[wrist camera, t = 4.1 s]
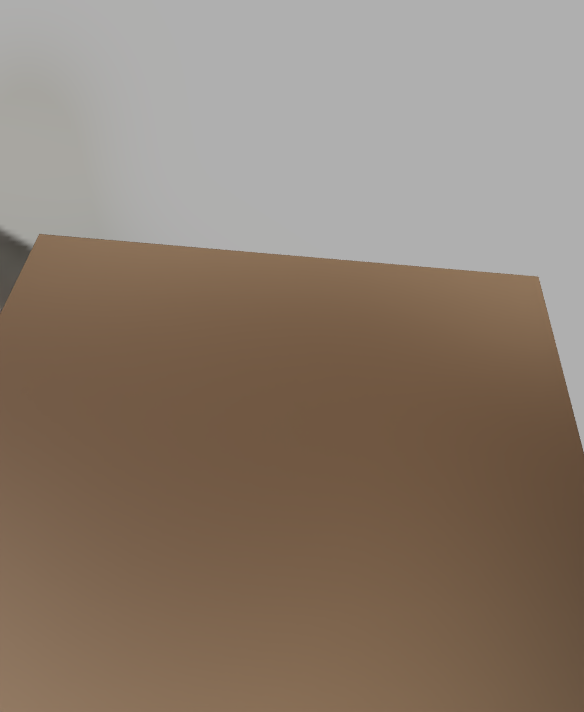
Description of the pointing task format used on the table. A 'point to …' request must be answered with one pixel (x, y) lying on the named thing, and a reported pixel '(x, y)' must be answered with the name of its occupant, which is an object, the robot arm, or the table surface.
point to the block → (284, 487)
